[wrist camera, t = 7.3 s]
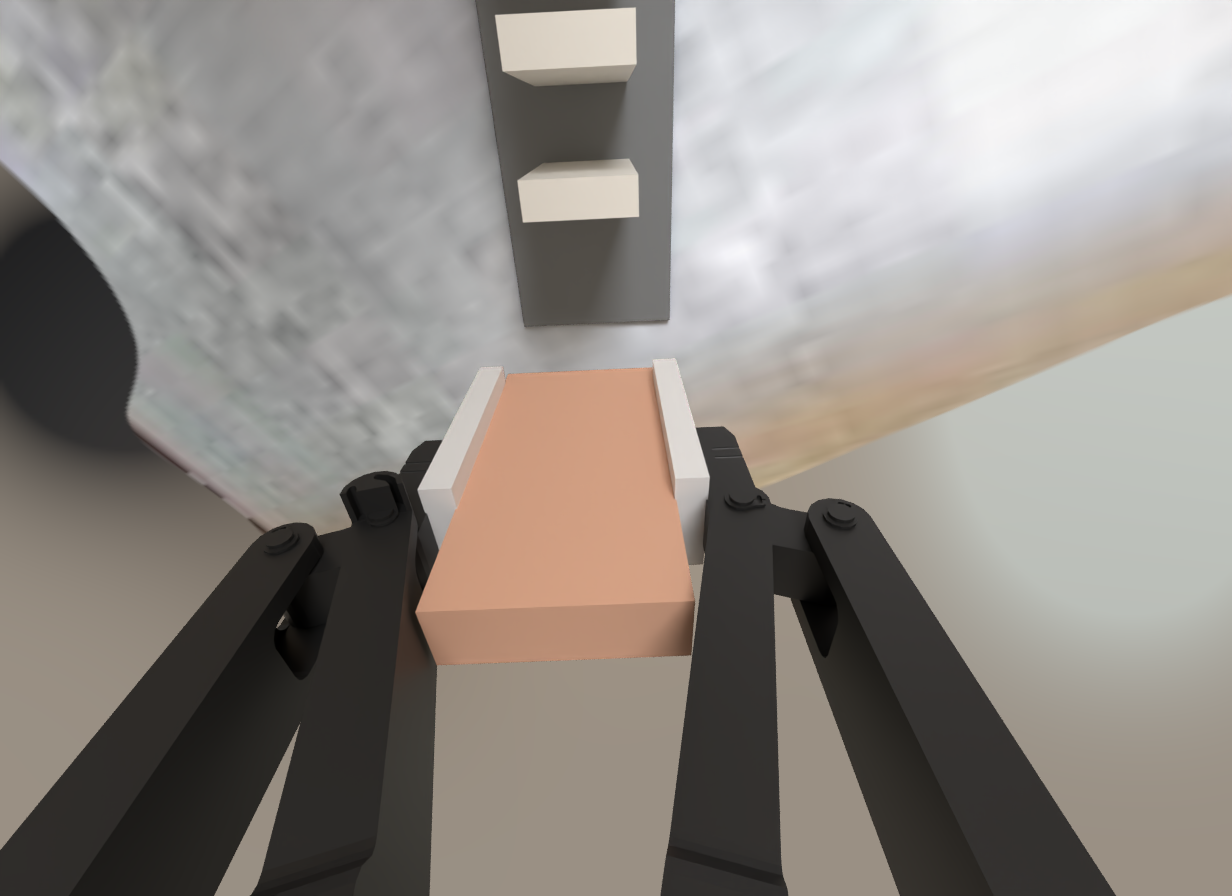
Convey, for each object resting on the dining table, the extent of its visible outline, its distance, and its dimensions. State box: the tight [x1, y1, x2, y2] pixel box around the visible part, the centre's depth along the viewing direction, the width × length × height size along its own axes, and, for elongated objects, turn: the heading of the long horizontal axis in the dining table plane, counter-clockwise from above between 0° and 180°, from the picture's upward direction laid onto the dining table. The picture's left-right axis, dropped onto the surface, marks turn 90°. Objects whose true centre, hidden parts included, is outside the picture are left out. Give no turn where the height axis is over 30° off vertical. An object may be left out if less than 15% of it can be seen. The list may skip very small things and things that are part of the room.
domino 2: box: [517, 159, 639, 223], centre depth 25 cm, size 2×5×10 cm, turn 93°
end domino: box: [415, 368, 695, 665], centre depth 13 cm, size 2×5×10 cm, turn 92°
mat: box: [476, 0, 675, 327], centre depth 27 cm, size 27×10×1 cm, turn 2°
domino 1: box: [495, 7, 637, 86], centre depth 22 cm, size 2×5×10 cm, turn 93°
